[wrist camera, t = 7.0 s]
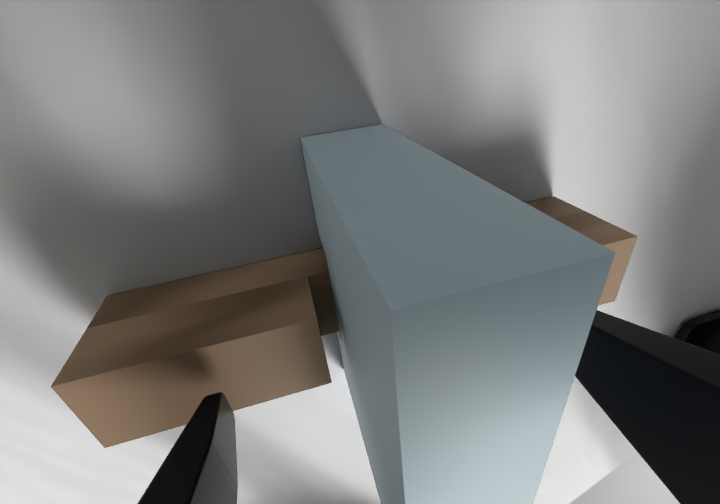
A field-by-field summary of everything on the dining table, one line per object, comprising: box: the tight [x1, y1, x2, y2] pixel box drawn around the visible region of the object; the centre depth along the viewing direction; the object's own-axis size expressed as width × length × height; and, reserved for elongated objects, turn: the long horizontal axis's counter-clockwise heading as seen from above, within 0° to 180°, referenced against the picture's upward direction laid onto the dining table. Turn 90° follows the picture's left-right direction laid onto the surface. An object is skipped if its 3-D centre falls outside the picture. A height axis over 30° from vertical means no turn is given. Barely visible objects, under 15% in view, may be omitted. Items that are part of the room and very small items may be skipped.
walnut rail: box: [51, 196, 637, 448], centre depth 11 cm, size 16×2×4 cm, turn 96°
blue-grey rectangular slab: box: [300, 124, 615, 504], centre depth 9 cm, size 10×2×8 cm, turn 6°
